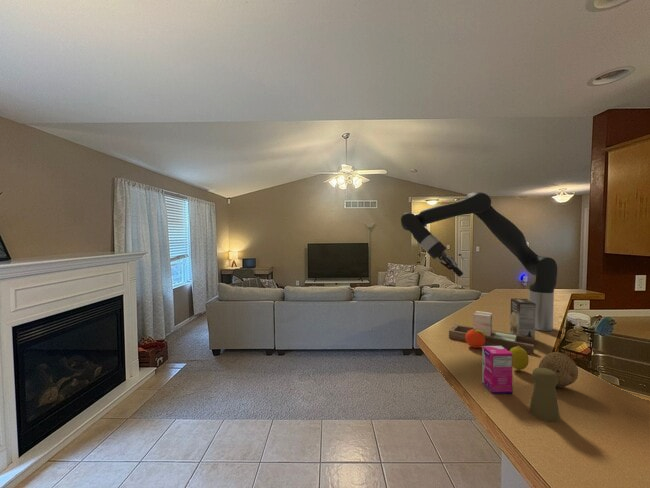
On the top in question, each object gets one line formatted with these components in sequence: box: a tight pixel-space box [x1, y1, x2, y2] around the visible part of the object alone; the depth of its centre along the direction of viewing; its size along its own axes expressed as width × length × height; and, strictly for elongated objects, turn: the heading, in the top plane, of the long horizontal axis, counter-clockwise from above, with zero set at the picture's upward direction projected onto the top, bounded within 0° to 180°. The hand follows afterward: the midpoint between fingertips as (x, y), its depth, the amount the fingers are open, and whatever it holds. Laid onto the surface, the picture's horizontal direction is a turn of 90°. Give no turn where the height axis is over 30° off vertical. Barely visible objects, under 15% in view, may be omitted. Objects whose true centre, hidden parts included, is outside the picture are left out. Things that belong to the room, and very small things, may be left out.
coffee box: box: [509, 297, 536, 337], centre depth 127 cm, size 9×6×16 cm
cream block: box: [473, 310, 493, 336], centre depth 125 cm, size 6×6×8 cm
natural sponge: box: [538, 351, 579, 389], centre depth 87 cm, size 9×9×10 cm
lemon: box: [508, 346, 530, 372], centre depth 97 cm, size 6×6×8 cm
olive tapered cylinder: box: [528, 367, 561, 423], centre depth 74 cm, size 6×6×11 cm
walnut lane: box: [448, 324, 536, 355], centre depth 124 cm, size 11×30×3 cm, turn 54°
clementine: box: [465, 329, 487, 349], centre depth 117 cm, size 8×7×7 cm
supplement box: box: [481, 345, 513, 395], centre depth 86 cm, size 6×6×12 cm
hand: (461, 275), depth 132 cm, fingers closed
